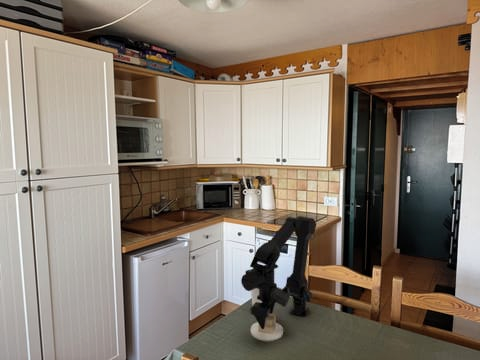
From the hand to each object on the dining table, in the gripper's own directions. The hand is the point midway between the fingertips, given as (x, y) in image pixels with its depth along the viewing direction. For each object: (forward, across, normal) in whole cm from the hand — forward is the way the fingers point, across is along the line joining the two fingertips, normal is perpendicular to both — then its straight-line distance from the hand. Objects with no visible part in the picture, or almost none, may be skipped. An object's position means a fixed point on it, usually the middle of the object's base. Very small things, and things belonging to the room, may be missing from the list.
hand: (266, 322), depth 125 cm
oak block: (+3, 0, 0) cm, 3 cm away
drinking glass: (+4, +14, +8) cm, 17 cm away
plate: (+4, 0, 0) cm, 4 cm away
